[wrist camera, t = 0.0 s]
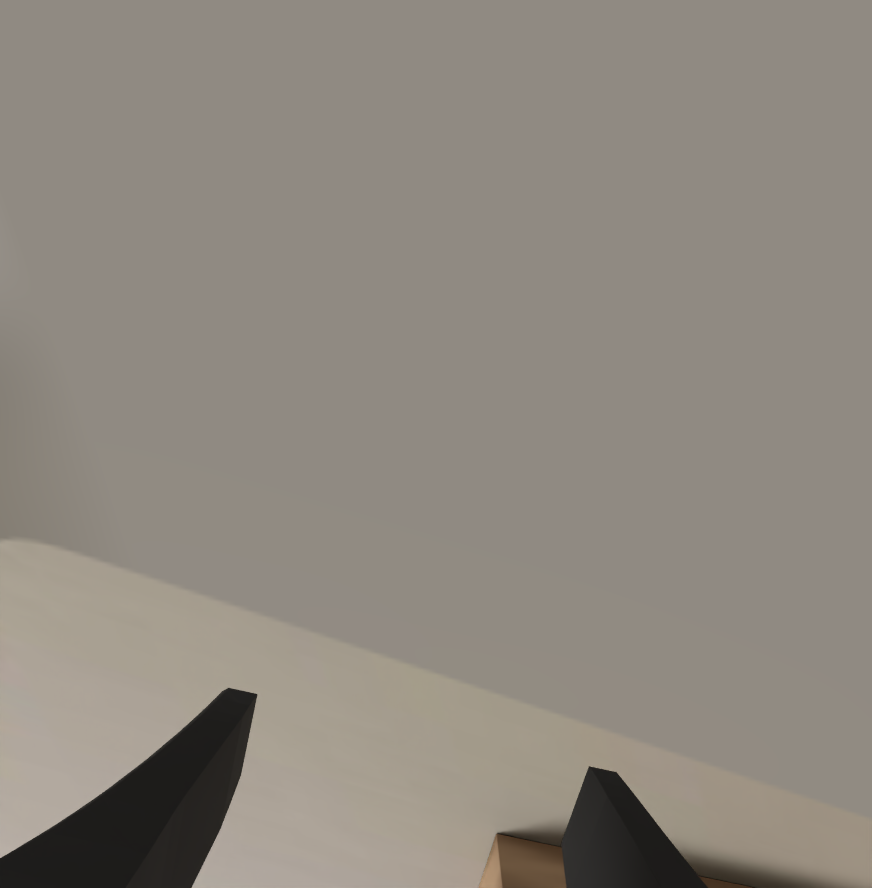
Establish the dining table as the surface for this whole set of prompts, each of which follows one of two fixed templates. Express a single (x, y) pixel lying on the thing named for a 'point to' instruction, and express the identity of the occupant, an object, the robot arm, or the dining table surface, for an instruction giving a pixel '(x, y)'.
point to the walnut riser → (537, 866)
